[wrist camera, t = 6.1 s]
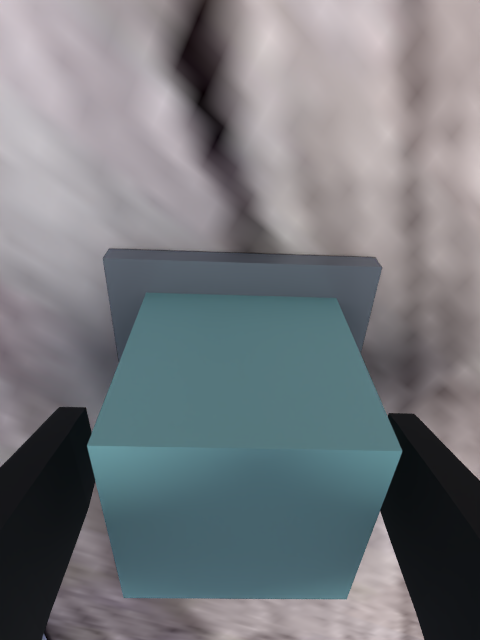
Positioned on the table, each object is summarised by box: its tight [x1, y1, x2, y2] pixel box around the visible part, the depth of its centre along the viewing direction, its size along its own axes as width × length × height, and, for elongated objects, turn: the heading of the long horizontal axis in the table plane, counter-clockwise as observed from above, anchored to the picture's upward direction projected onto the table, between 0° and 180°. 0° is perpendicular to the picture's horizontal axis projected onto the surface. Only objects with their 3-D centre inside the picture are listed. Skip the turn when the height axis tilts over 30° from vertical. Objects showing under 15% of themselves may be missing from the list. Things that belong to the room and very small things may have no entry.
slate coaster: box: [103, 249, 382, 362], centre depth 12 cm, size 7×7×1 cm
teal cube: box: [87, 293, 402, 599], centre depth 10 cm, size 5×5×5 cm
